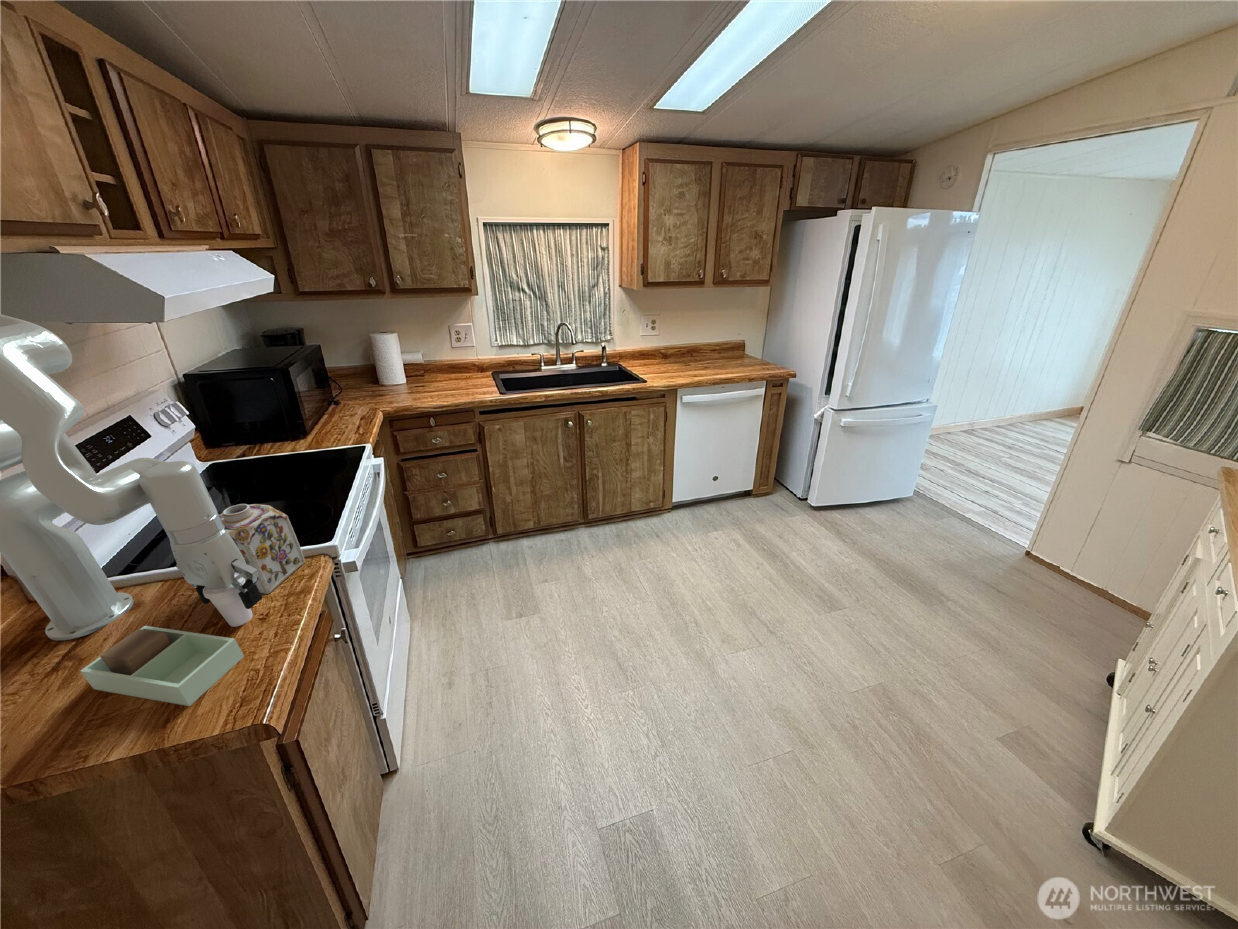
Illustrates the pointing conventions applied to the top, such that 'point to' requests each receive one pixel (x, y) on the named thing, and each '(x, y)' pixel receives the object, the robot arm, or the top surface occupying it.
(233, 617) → the white cup
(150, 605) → the top surface
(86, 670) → the tote
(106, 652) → the walnut block
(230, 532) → the decorative jar
